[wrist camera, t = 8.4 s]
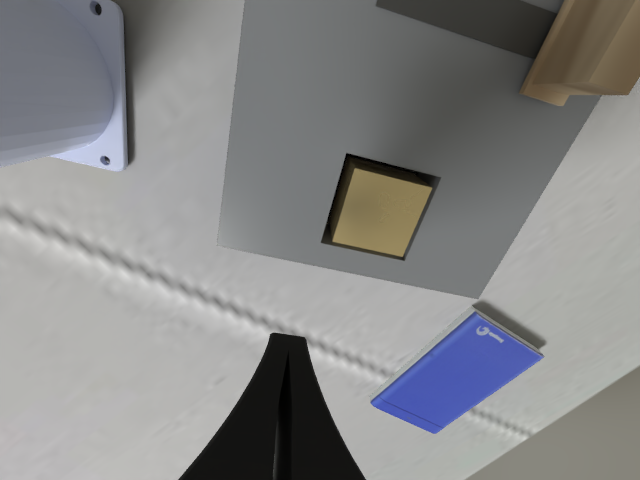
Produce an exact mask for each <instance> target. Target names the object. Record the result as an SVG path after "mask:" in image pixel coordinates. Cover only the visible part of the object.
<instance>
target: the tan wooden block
mask: <svg viewBox="0 0 640 480" xmlns="http://www.w3.org/2000/svg"><path fill="white" fill-rule="evenodd" d="M639 77H640V0H564V2H563V4H562V6H561V8H560V10H559V13H558V15H557V17H556V19H555V21H554V23H553V25H552V27H551V29H550V31H549V33H548V35H547V37H546V39H545V41H544V43H543V45H542V47H541V49H540V51H539V53H538V55H537V57H536V59H535V61H534V63H533V65H532V67H531V69H530V71H529V73H528V75H527V77H526V79H525V81H524V83H523V85H522V87H521V90H520V92H519V94H522V95H525V96H529V97H532V98H535V99H538V100H541V101H544V102H548V103H551V104H554V105H557V106H564V104H565V102H566V100H567V99H568V97H569V95H628V94H629V92H630V91H631V89H632V88H633V86H634V85H635V83H636V82H637V80H638V78H639Z"/></svg>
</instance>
